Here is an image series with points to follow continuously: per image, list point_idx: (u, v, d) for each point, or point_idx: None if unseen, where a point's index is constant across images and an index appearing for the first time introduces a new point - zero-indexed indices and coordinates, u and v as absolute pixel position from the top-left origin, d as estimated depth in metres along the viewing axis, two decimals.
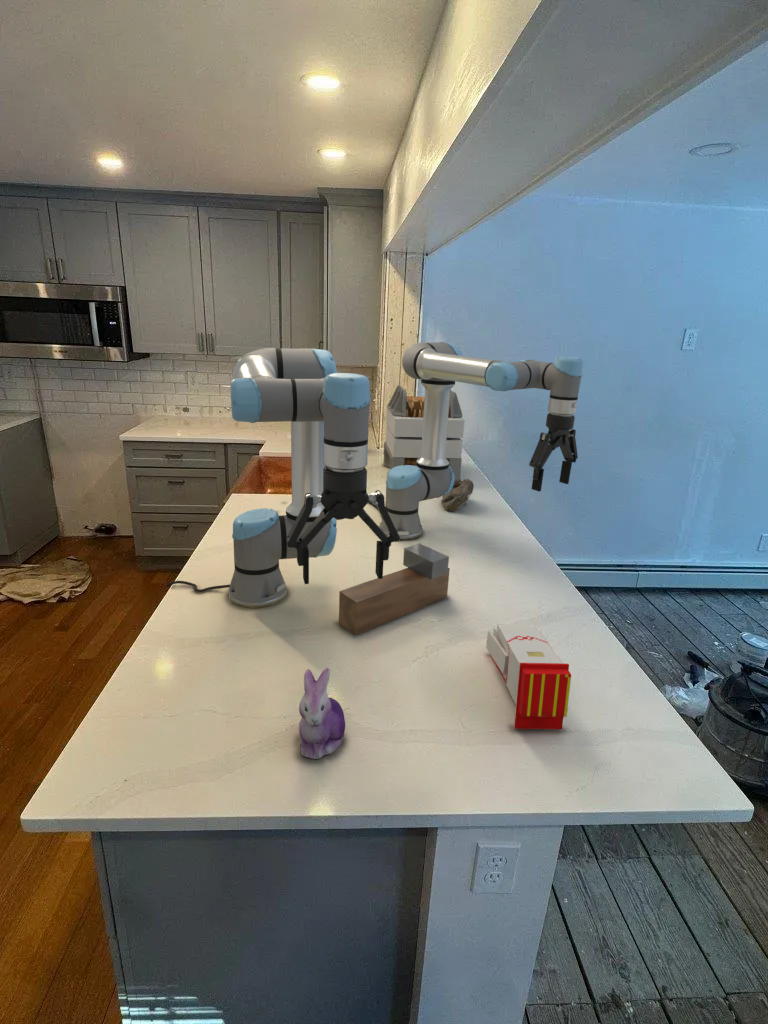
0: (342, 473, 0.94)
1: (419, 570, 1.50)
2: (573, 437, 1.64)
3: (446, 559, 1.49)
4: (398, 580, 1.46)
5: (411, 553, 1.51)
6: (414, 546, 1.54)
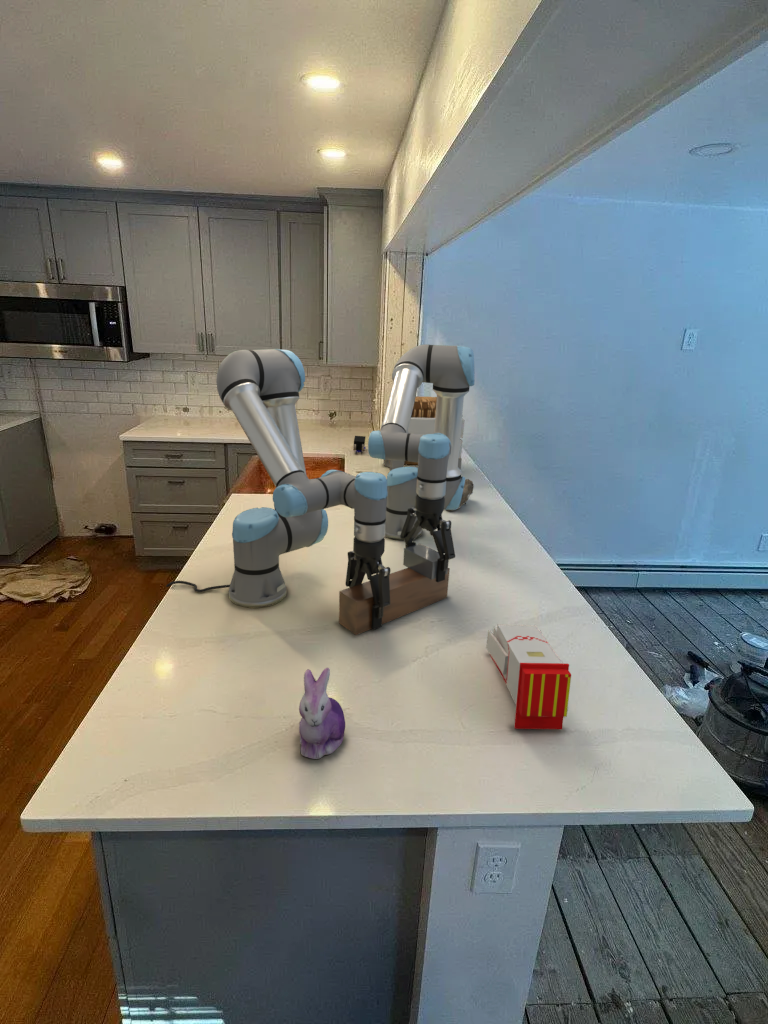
0: (356, 539, 1.34)
1: (419, 570, 1.50)
2: (442, 530, 1.43)
3: None
4: (398, 580, 1.46)
5: (411, 553, 1.51)
6: (414, 546, 1.54)
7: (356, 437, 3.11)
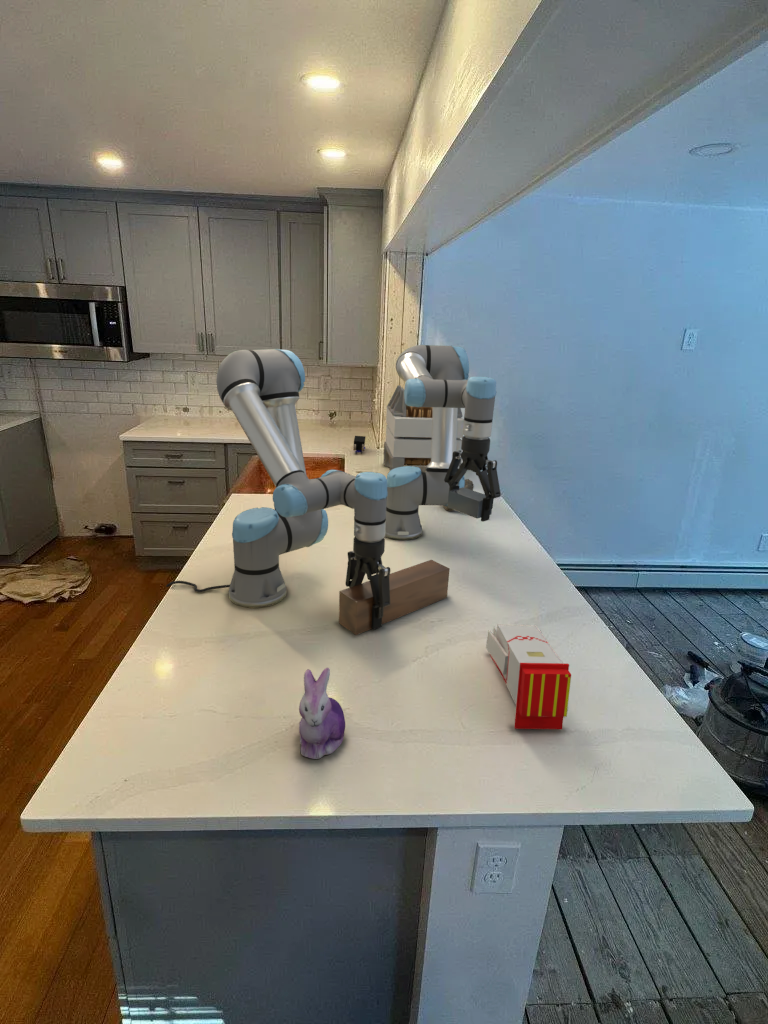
0: (356, 539, 1.34)
1: (465, 510, 1.55)
2: (488, 469, 1.48)
3: None
4: (398, 580, 1.46)
5: (456, 494, 1.56)
6: (458, 489, 1.60)
7: (356, 437, 3.11)
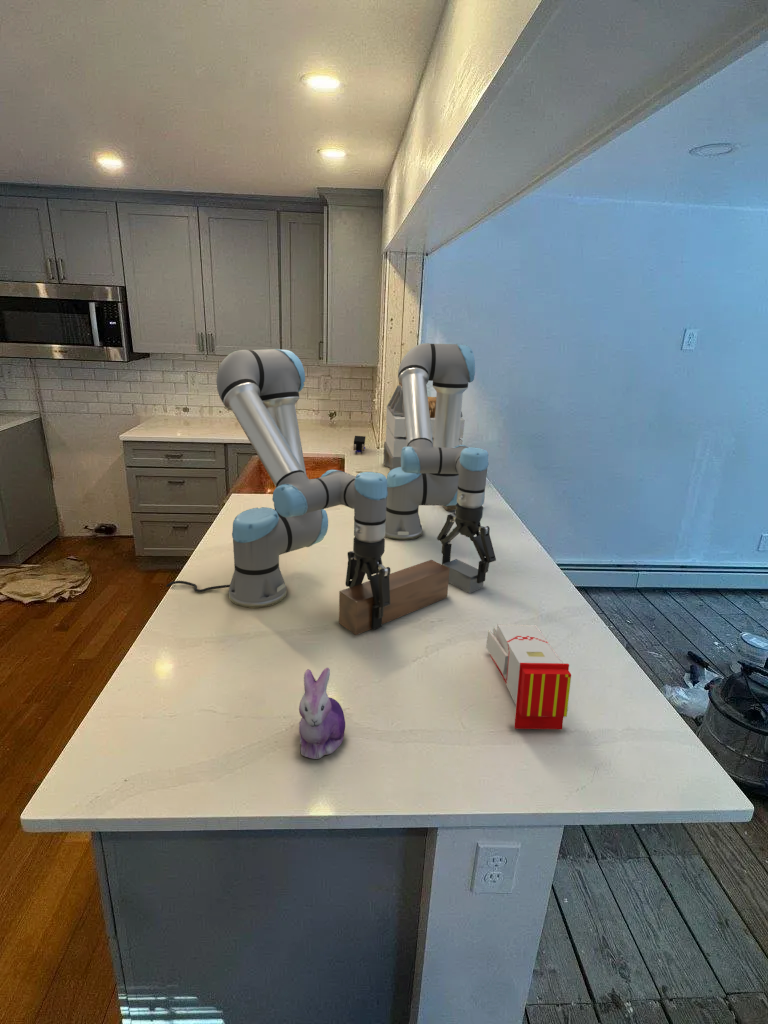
0: (356, 539, 1.34)
1: (457, 584, 1.63)
2: (481, 535, 1.55)
3: None
4: (398, 580, 1.46)
5: None
6: (451, 562, 1.67)
7: (356, 437, 3.11)
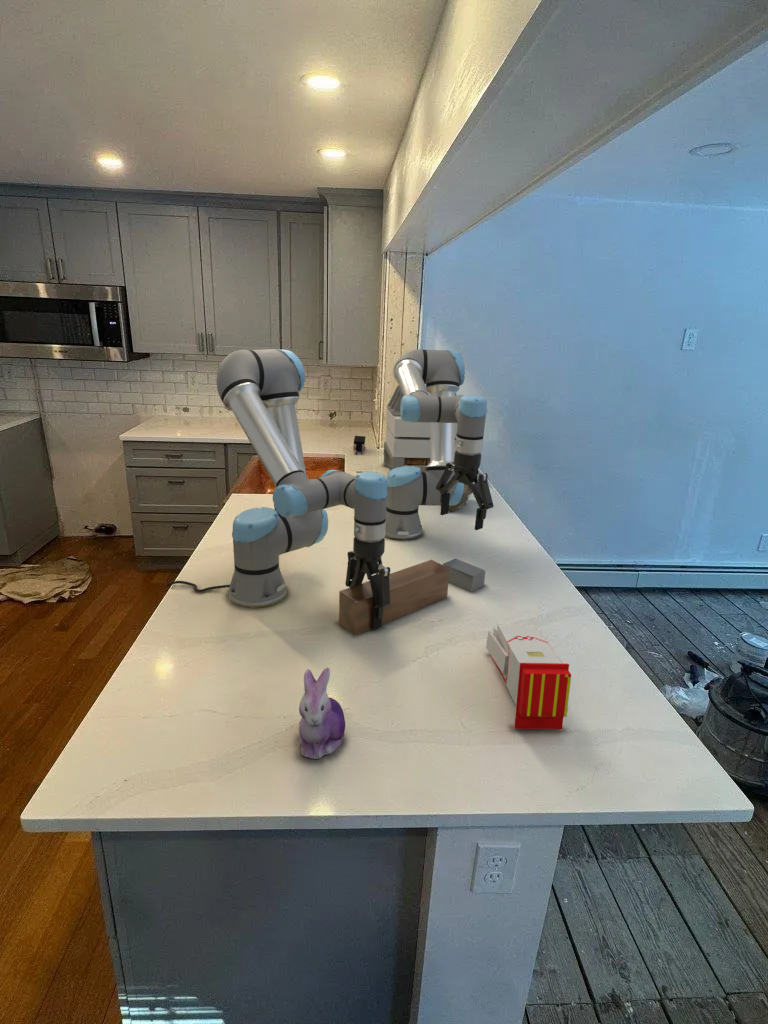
0: (356, 539, 1.34)
1: (459, 583, 1.63)
2: (479, 482, 1.57)
3: (484, 573, 1.63)
4: (398, 580, 1.46)
5: (450, 568, 1.64)
6: (451, 561, 1.68)
7: (356, 437, 3.11)
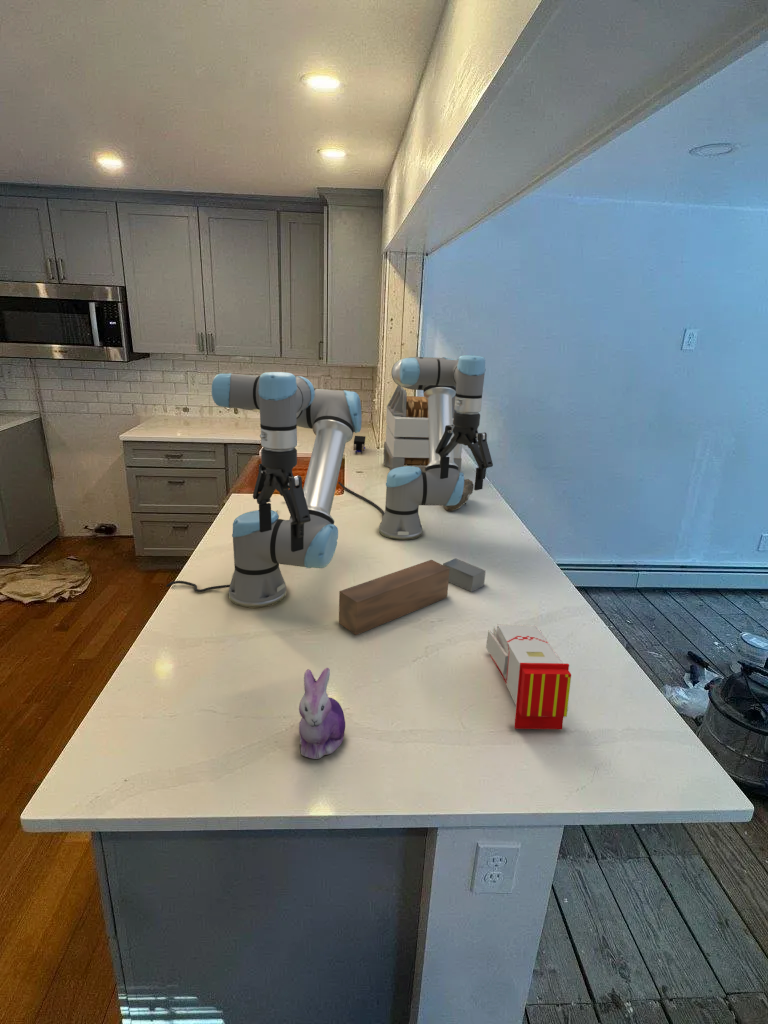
0: (263, 449, 1.19)
1: (459, 583, 1.63)
2: (478, 441, 1.58)
3: (483, 573, 1.63)
4: (398, 580, 1.46)
5: (450, 568, 1.64)
6: (451, 561, 1.68)
7: (356, 437, 3.11)
